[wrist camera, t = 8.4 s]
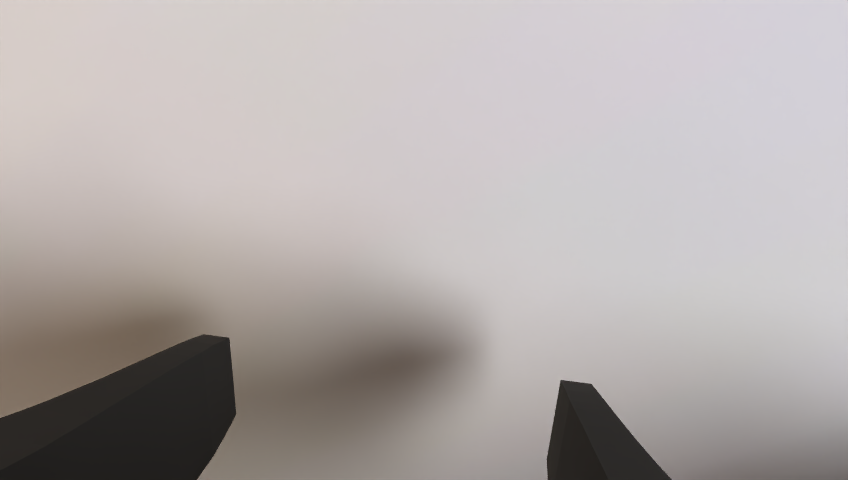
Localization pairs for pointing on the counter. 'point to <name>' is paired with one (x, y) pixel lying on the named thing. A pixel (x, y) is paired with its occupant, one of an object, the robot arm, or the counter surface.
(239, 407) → the counter surface
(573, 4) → the counter surface
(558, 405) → the robot arm
